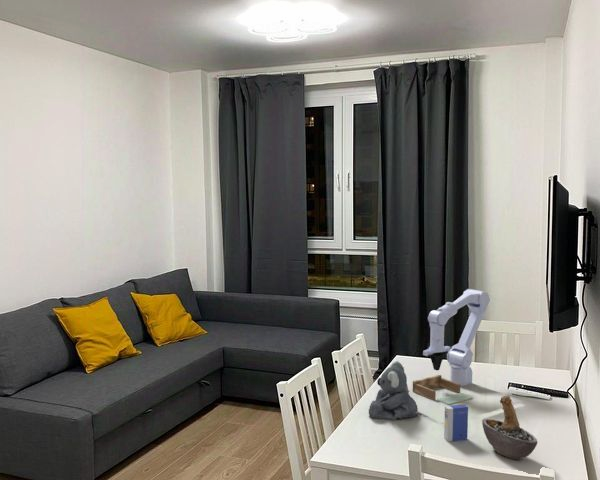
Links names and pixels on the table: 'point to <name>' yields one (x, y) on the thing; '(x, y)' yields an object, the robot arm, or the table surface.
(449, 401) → the panel
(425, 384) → the crate
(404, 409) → the koala plush
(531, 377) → the table surface
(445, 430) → the walkman
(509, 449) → the planter
